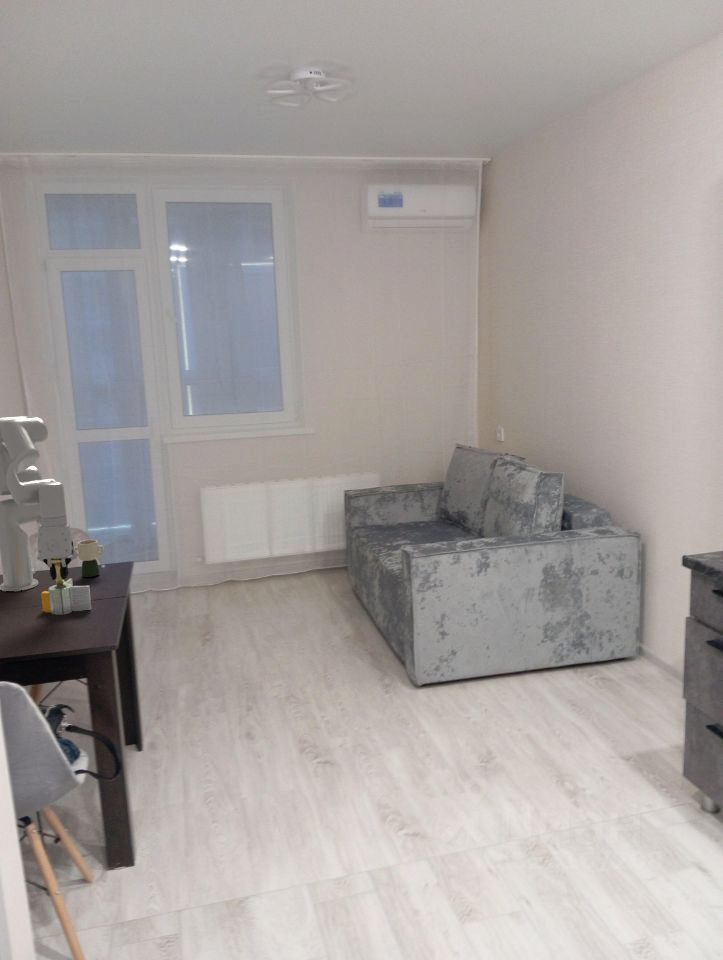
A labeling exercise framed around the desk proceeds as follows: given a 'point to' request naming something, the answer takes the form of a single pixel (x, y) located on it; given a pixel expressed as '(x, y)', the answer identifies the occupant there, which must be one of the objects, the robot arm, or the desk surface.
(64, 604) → the hinge
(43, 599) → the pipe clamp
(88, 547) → the character mug
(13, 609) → the desk surface
